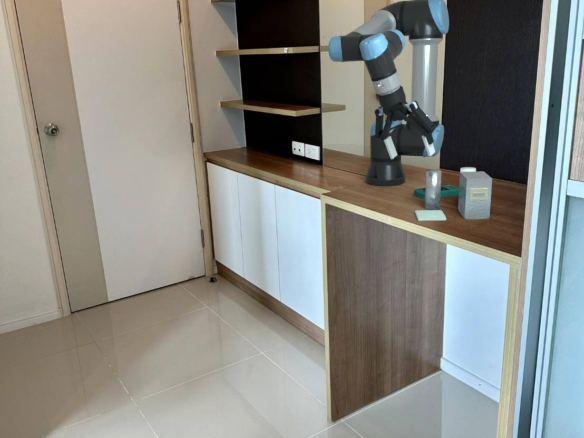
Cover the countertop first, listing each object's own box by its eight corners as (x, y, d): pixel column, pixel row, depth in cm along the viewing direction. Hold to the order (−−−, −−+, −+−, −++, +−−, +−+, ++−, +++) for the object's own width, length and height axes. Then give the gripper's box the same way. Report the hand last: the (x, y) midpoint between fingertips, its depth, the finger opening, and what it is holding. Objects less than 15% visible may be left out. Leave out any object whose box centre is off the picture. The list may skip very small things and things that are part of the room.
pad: (414, 213, 165) (414, 210, 165) (441, 212, 165) (441, 210, 164) (418, 220, 158) (418, 217, 158) (446, 220, 157) (446, 217, 157)
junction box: (458, 209, 167) (459, 171, 163) (481, 209, 166) (483, 171, 163) (465, 219, 157) (467, 179, 153) (490, 219, 156) (492, 179, 152)
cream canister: (457, 203, 174) (459, 167, 170) (472, 203, 173) (474, 166, 170) (460, 207, 169) (462, 170, 166) (475, 207, 169) (477, 169, 165)
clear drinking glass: (423, 206, 172) (425, 169, 169) (438, 206, 171) (440, 169, 168) (425, 210, 168) (427, 172, 164) (441, 210, 167) (442, 172, 164)
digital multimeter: (412, 196, 187) (412, 187, 186) (450, 191, 191) (451, 183, 190) (422, 201, 180) (422, 192, 179) (462, 196, 184) (462, 188, 183)
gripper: (349, 101, 160) (373, 163, 168) (419, 88, 142) (442, 159, 150) (363, 91, 164) (386, 152, 173) (433, 76, 146) (455, 146, 154)
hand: (412, 155), depth 161 cm, fingers open, 13 cm apart
